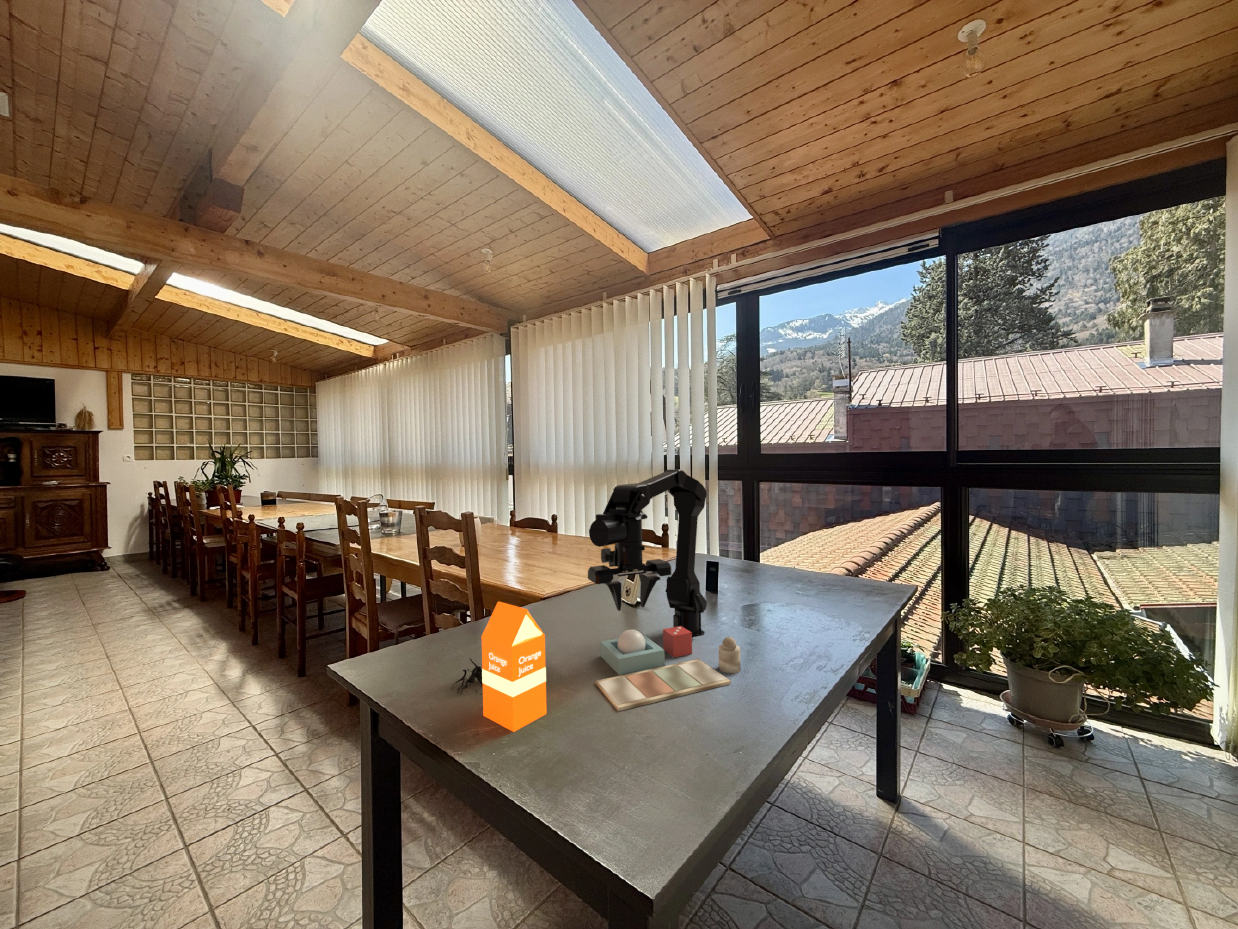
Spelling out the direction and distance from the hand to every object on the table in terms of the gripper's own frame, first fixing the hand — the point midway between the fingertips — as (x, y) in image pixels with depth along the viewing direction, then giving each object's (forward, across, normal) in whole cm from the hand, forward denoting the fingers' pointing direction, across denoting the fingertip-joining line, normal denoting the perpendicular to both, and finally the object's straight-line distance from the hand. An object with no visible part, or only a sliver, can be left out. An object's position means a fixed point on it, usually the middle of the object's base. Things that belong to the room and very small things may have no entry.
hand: (630, 608), depth 111 cm
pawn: (+12, -18, +13) cm, 25 cm away
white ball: (+11, 0, 0) cm, 11 cm away
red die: (+12, -12, 0) cm, 17 cm away
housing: (+12, 0, 0) cm, 12 cm away
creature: (+12, +35, -2) cm, 37 cm away
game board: (+12, -1, +13) cm, 18 cm away
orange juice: (+12, +29, +12) cm, 34 cm away
